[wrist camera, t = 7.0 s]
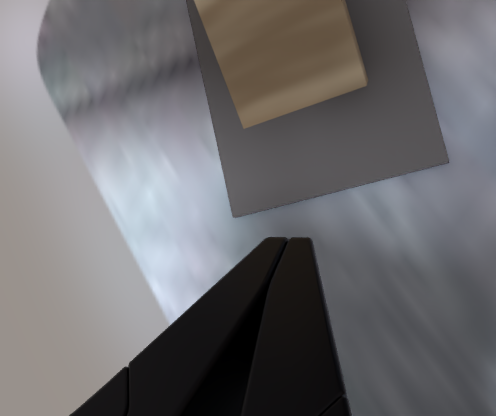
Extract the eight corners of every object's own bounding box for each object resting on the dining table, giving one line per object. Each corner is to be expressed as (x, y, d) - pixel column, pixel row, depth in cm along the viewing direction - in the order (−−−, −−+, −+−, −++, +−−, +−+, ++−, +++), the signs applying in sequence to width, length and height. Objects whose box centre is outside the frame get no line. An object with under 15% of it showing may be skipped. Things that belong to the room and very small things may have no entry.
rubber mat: (448, 162, 16) (449, 161, 16) (236, 217, 20) (232, 217, 19) (341, -233, 18) (339, -242, 17) (164, -117, 21) (159, -123, 21)
